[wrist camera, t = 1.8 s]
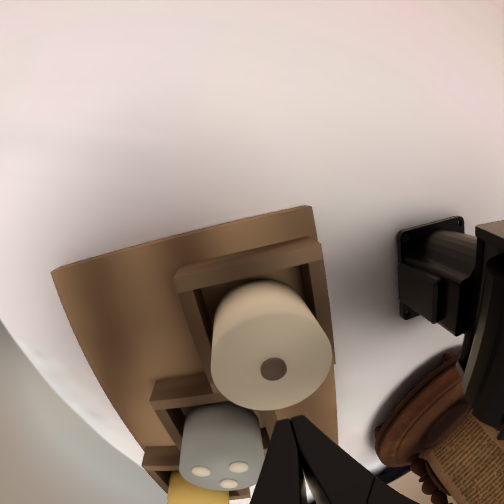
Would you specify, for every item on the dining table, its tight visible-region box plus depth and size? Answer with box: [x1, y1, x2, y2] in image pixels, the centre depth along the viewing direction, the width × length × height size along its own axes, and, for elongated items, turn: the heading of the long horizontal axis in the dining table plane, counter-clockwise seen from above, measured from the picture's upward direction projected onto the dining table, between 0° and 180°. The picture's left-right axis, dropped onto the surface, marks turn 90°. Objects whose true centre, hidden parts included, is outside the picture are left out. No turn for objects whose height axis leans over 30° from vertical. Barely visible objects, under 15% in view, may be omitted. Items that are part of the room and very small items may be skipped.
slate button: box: [179, 401, 265, 491], centre depth 14 cm, size 5×5×4 cm
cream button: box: [211, 278, 332, 410], centre depth 12 cm, size 5×5×4 cm
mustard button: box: [167, 470, 229, 504], centre depth 15 cm, size 5×5×4 cm
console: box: [51, 205, 338, 500], centre depth 17 cm, size 16×23×3 cm
